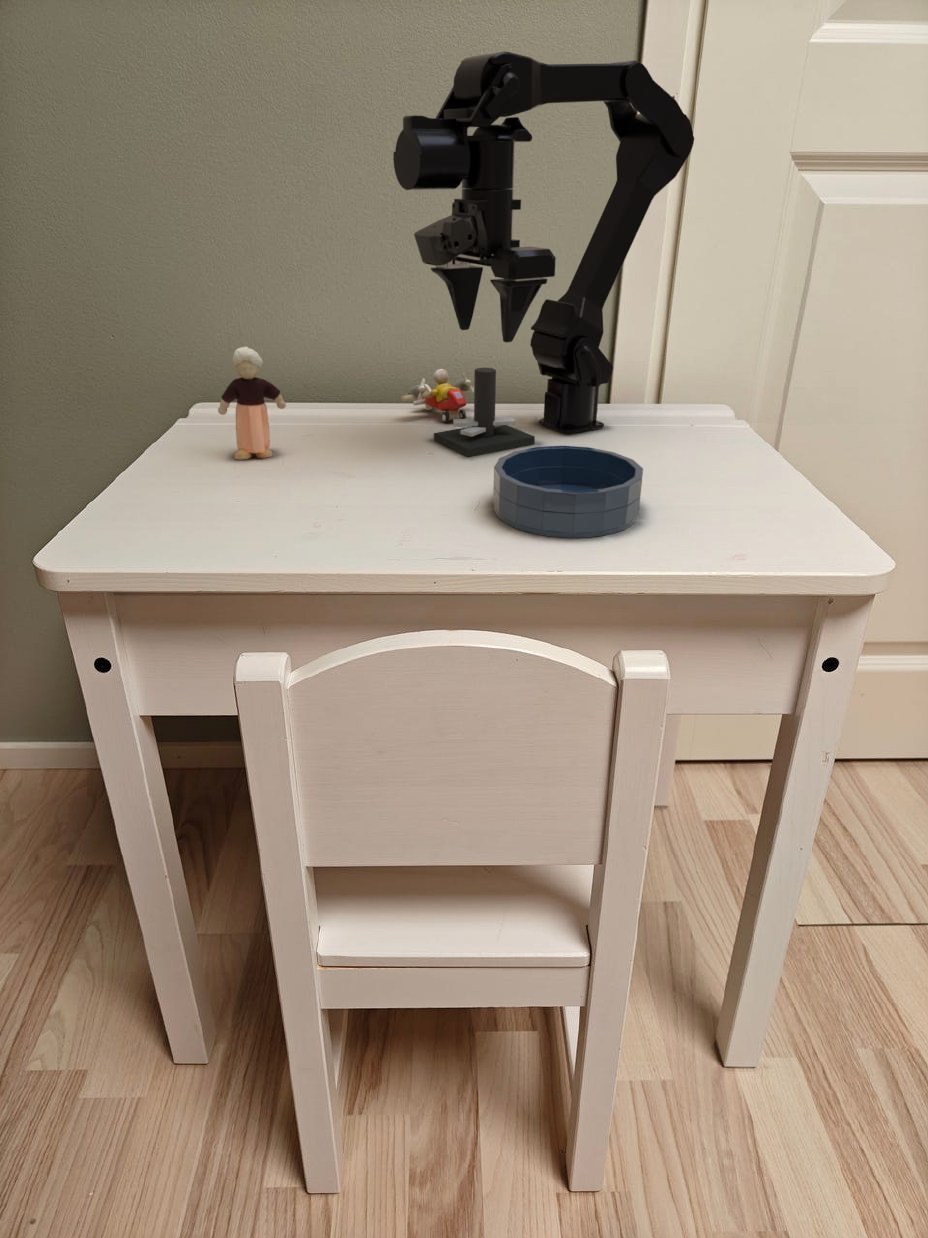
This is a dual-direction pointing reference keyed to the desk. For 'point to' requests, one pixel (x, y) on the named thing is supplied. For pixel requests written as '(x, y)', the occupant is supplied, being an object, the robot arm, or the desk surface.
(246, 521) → the desk surface
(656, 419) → the desk surface
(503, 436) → the mat
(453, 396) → the toy airplane
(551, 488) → the bowl
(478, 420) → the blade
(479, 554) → the desk surface
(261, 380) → the grandmother figurine
